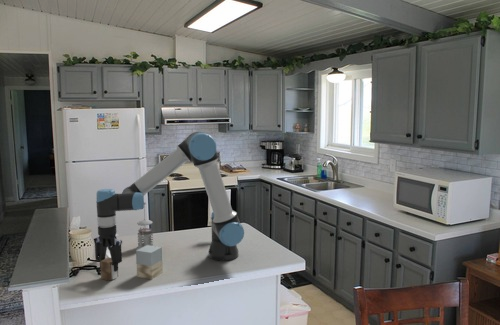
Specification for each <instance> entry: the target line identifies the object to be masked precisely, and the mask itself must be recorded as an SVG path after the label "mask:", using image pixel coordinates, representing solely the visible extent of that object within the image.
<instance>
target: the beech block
mask: <svg viewBox="0 0 500 325" xmlns="http://www.w3.org/2000/svg"><path fill="white" fill-rule="evenodd" d="M163 264H164V263H163V260H162V261H160V262H158V263H156V264H155V265H153V266H147V265H141V264H136V277H137V278H142V279H148V280H149V279H150V280H154V279H155V278H157V277H158V276H160V275H162V274H163V272H164V271H163V270H164V269H163Z"/></svg>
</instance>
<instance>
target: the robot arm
mask: <svg viewBox="0 0 500 325" xmlns="http://www.w3.org/2000/svg"><path fill="white" fill-rule="evenodd" d="M218 160H219V155H218V151H217V142H216V141H215V139H214V138H213V136H212V135H211V134H210V133H209V134H208V133H207V132H201V131H195V132H191V134H189V135H188V136H187V137H186V138H185V139H184V140H183V141H181V142H180V143H179V144H178V145H176V149H175V150H174V151H172V153H170V154H169V155H168V156H165V158H163V159H162V160H161V161H160V162H159V163H157V164H156V165H155V166H154V167H152V168H151V169H150V170H148V171H147V172H146V173H144V174H143V175H142V176H140V177H139V178H138V179H137V180H136V181H135V182H134V183H132V184H130V185H129V186H127V187H125V188H124V189H123V190H122V192H121V193H116V190H115V189H113V188H104V189H98V191H96V200H95V201H96V216H97V219H96V220H97V234H98V236H96V237H95V238H93V242H94V254H95V255H94V257H95V261H98V262H99V263H100V261H102V260H104V259H105V258H106V257H107V256H106V250H107V247H108V249H109V251H110V255H111V259H112V263H113V264H112V265H111V271H112V279H113V280H115V279H116V278H117V279H118V277H117V271H118V272H119V264H120V263H122V262H123V256H122V244H123V240H122V239H120V240H119V239H117V237H116V234H117V231H118V230H117V225H116V224H117V216H116V215H117V214H116V212H122V211H123V212H126V211H139V210H140V211H141V210H144V202H145V198H144V196H145V195H146V194H148V193H149V192H150V191H152V190H153V189H154V188H156V187H157V186H158V185H159V184H161V183H162V182H163V181H164V180H166V179H167V178H168V177H169V176H170V175H172V174H174V172H175V171H177V170H178V169H180V168H181V167H182V166H183V165H185V163H190V162H192V163H193V166H194V167H196V168H198V170H199V171H198V172H199V174H200V177H201V180H202V182H203V185H204V188H205V191H206V194H207V197H208V200H209V203H210V206H211V209H212V212H211V217H210V219H211V221H210V222H211V242H210V245H209V249H208V253H207V254H208V256H207V257H208V258H209V259H211V260H213V261H222V262H223V261H225V262H226V261H230V260H235V259H237V258H238V257H239V248H238V246H237V245H238V244H240V243H241V242H242V241H243V239H244V237H245V230H244V229H245V228H244V227H243V225H242V224H241V222H240V219H239V216H238V212H237V211H235V210H233V208H232V205H231V202H230V200H229V196H228V193H227V190H226V187H225V184H224V180H223V178H222V177H223V176H222V174H221V171H220V169H219V165H218ZM99 269H100V270H101V266H100V265H99Z"/></svg>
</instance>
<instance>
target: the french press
mask: <svg viewBox="0 0 500 325" xmlns="http://www.w3.org/2000/svg"><path fill="white" fill-rule="evenodd" d="M145 205H147V203H146V202H145V201H144V208H143V210H144V212H143V213H144V217H146V214H145V213H146V211H145V210H146V209H145V208H146V207H145ZM152 224H153V221H152V220H150V219H141V220H139V221H138V222H137V223H136V225H137V226H143V227H142V228H139V229H138V230H137V231H138V232H137V242H138V243H137V247H136V248H135V249H136V250H138V249H140V248H142V247H144V246H146V245H150V246H155V245H154V234H153V229H152V228H149V227H146V226H149V225H152Z"/></svg>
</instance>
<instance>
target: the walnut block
mask: <svg viewBox="0 0 500 325" xmlns="http://www.w3.org/2000/svg"><path fill="white" fill-rule="evenodd" d="M105 258H106V257H105ZM112 264H113V263H112V259H111V258H106V259H104V260H102V261H100V262H99V267H100V266H101V269H100V279H101V280H105V281H113V280H114V279H112V271H111V265H112ZM118 277H119V270H118V271H117V278H118Z"/></svg>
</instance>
